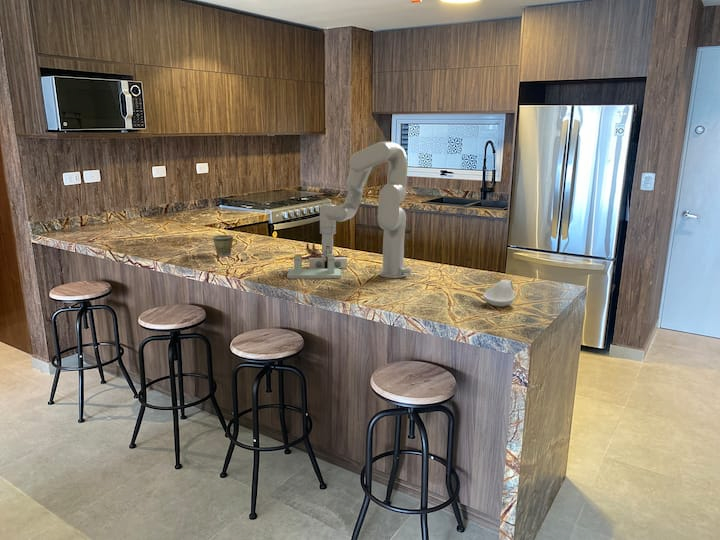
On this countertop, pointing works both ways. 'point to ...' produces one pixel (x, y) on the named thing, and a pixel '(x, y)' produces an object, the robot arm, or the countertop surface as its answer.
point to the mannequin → (316, 253)
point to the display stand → (313, 273)
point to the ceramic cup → (223, 245)
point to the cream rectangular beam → (320, 263)
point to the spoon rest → (500, 294)
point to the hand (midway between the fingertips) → (328, 267)
